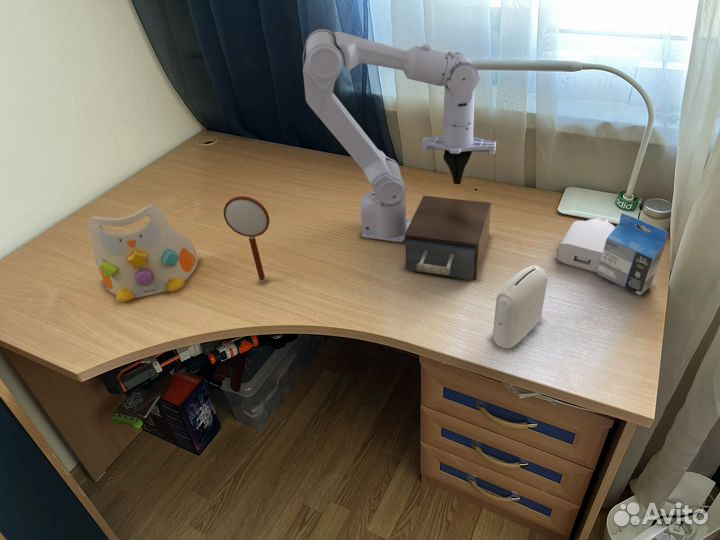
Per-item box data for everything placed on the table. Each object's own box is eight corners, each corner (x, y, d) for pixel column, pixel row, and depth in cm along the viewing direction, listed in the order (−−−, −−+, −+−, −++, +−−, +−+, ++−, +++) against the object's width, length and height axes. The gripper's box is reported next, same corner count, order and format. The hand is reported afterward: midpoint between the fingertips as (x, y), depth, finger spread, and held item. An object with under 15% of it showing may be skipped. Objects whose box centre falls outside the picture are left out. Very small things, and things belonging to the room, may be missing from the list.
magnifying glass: (284, 280, 109) (265, 194, 96) (282, 285, 108) (262, 199, 95) (244, 278, 110) (220, 194, 98) (241, 283, 109) (217, 199, 97)
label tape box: (595, 274, 102) (609, 220, 95) (607, 265, 104) (621, 211, 96) (640, 296, 97) (658, 241, 89) (651, 286, 99) (670, 231, 91)
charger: (624, 234, 112) (605, 275, 102) (578, 223, 116) (556, 261, 107) (629, 215, 109) (610, 255, 99) (582, 204, 113) (560, 241, 104)
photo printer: (509, 353, 89) (517, 298, 81) (488, 340, 92) (493, 285, 84) (544, 320, 94) (554, 265, 86) (522, 309, 97) (530, 255, 89)
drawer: (466, 298, 99) (468, 270, 95) (399, 287, 103) (397, 259, 99) (483, 239, 112) (486, 212, 108) (423, 231, 116) (423, 205, 112)
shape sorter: (99, 310, 106) (61, 237, 95) (104, 278, 114) (69, 207, 103) (200, 287, 109) (174, 213, 98) (198, 257, 117) (174, 186, 106)
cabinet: (476, 280, 104) (478, 244, 99) (405, 269, 108) (404, 234, 103) (488, 237, 115) (491, 202, 109) (423, 229, 119) (423, 195, 113)
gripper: (417, 127, 104) (419, 188, 113) (493, 131, 99) (489, 194, 108) (426, 112, 109) (427, 172, 118) (499, 115, 105) (495, 177, 113)
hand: (457, 181), depth 113 cm, fingers closed
